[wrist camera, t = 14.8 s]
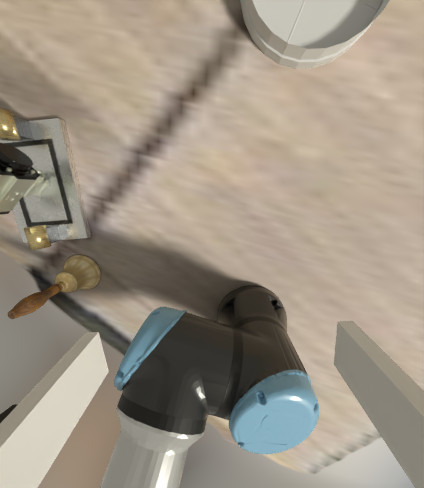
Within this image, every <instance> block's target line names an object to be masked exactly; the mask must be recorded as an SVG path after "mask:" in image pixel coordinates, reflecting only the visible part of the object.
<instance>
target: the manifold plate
mask: <svg viewBox="0 0 424 488" xmlns="http://www.w3.org/2000/svg"><path fill="white" fill-rule="evenodd" d="M0 143H5V144H8V145H11V146H13V147H15V148H17V149H19V150H20V151H22V152H23V153H25V154H26V155H27V156H28V157H29V158H30V159H31V160H32V162H33V166H32V167H33V168H34V169H37V170H39V171H41V172H42V173H43V174H44V175H45V178H44V180H48V181H49V185H48V186H47V187H46V189H45V190H44V191H43V192H42V193H41V195H40V196H35V195H30V196H29V197H22V198H21V199H20V200H19V202H18V203H17V204H16V205H15V207H14V208H13V209H12V211H13V214H14V217H15V220H16V223H17V226H18V229H19V232H20V235H21V238H22V241H23V243H24V242H28V244H29V247H30V250H35V249H42V248H46V247H50V246H51V243H53V242H56V241H60V240H67V239H81V238H89V237H92V236H91V231H90V227H89V223H88V219H87V214H86V210H85V206H84V202H83V197H82V193H81V189H80V185H79V180H78V176H77V172H76V168H75V163H74V159H73V155H72V151H71V146H70V142H69V138H68V133H67V129H66V125H65V121H64V120H61V119H59V118H54V119H45V120H35V121H27V120H25V119H22V118H19V117H16V116H14V114H13V112H11V111H9V110H6V109H2V108H0Z"/></svg>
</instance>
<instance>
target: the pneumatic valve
mask: <svg viewBox="0 0 424 488" xmlns="http://www.w3.org/2000/svg"><path fill="white" fill-rule="evenodd" d="M32 166H33V162H32V160H31V159H30V158H29V157H28V156H27V155H26V154H25V153H23V152H22V151H20V150H19V149H17V148H15V147H13V146H11V145H8V144H5V143H0V214H8V213H9V212H10V211H11V210H12V209H13V208H14V207H15V205H16V204H17V203H18V202H19V200H20V199H21V198H22V197H29V196H30V195H35V196H40V195H41V193H42V192H43V191H44V190H45V189H46V187H47V186H48V185H49V181H48V180H44V178H45V175H44V174H43V173H42V172H41V171H39V170H37V169H34V168H33V167H32Z"/></svg>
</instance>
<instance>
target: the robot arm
mask: <svg viewBox="0 0 424 488" xmlns="http://www.w3.org/2000/svg"><path fill="white" fill-rule="evenodd" d="M334 365H335V367H336V368H337V370H338V371H339V373H340V374H341V376H342V377H343V379H344V380H345V382H346V383H347V385H348V386H349V388H350V389H351V391H352V392H353V394H354V395H355V397H356V398H357V400H358V401H359V403H360V405H361V406H362V408H363V409H364V411H365V412H366V414H367V415H368V417H369V418H370V420H371V421H372V423H373V424H374V426H375V427H376V429H377V430H378V432H379V433H380V435H381V436H382V438H383V439H384V441H385V442H386V444H387V446H388V447H389V449H390V450H391V452H392V453H393V455H394V456H395V458H396V459H397V461H398V462H399V464H400V465H401V467H402V468H403V470H404V471H405V473H406V474H407V476H408V477H409V479H410V480H411V482H412V483H413V485H414V487H415V488H424V391H423V390H422V389H421V388H420V387H419V386H418V385H417V384H416V383H415V382H414V381H413V380H412V379H411V378H410V377H409V376H408V375H407V374H406V373H405V372H404V371H403V370H402V369H401V368H400V367H399V366H398V365H397V364H396V363H395V362H394V361H393V360H392V359H391V358H390V357H389V356H388V355H387V354H386V353H385V352H384V351H383V350H382V349H381V348H380V347H379V346H378V345H377V344H376V343H375V342H374V341H373V340H371V339H370V338H369V337H368V336H367V335H366V334H365V333H364V332H363V331H362V330H361V329H360V328H359V327H358V326H357V325H356V324H355V323H354V322H353V321H343V322H338V325H337V336H336V346H335V357H334ZM108 372H109V371H108V367H107V363H106V359H105V355H104V351H103V348H102V344H101V340H100V336H99V332H91V333H85V334H84V335H83V336H82V337H81V338H80V339H79V340H78V341H77V342H76V343H75V345H74V346H73V347H72V348H71V349H70V350H69V351H68V352H67V353H66V354H65V355H64V356H63V357H62V358H61V360H59V362H58V363H57V364H56V365H55V366H54V367H53V368H52V369H51V370H50V371H49V372H48V373H47V374H46V375H45V376H44V377H43V379H42V380H41V381H40V382H39V383H38V384H37V385H36V386H35V387H34V388H33V389H32V390H31V391H30V393H28V395H27V396H26V397H25V398H24V399H23V400H22V401H21V402H20V403H19V404H18V405H12V406H11V407H10V408H8V409H7V410H6V411H4V412H3V413H2V414H0V488H38V486H39V485H40V483H41V481H42V480H43V478H44V476H45V475H46V473H47V472H48V470H49V468H50V466H51V465H52V463H53V462H54V460H55V458H56V457H57V455H58V453H59V452H60V450H61V449H62V447H63V445H64V444H65V442H66V440H67V439H68V437H69V435H70V434H71V432H72V431H73V429H74V427H75V426H76V424H77V422H78V420H79V419H80V417H81V416H82V414H83V413H84V411H85V409H86V408H87V406H88V404H89V403H90V401H91V399H92V397H93V396H94V395H95V393H96V391H97V390H98V388H99V386H100V384H101V383H102V381H103V380H104V378H105V376H106V375H107V373H108ZM114 386H115V387H117V389H118V390H120V391H121V390H123V393H122V395H121V398H120V401H119V403H118V405H117V408H116V409H117V413H118V416H119V419H120V422H121V427H122V428H121V432H120V435H119V437H118V440H117V443H116V445H115V448H114V451H113V454H112V456H111V459H110V462H109V465H108V467H107V470H106V472H105V475H104V478H103V480H102V483H101V486H100V488H179V485H180V480H181V476H182V472H183V468H184V463H185V459H186V454H187V450H188V448H189V446H190V445H192V444H193V443H194V442H195V441H197V440H198V439H199V438H200V437H202V436H203V433H204V430H205V425H206V420H207V416H208V415H213V416H217V417H220V418H223V419H227V420H229V429H230V431H231V434H232V437H233V439H234V440H235V442H237V443H238V445H239V446H240V447H241V448H243V449H244V450H246V451H249V452H252V453H256V454H273V453H279V452H282V451H286V450H288V449H290V448H292V447H294V446H296V445H298V444H299V443H301V442H302V441H304V440H305V439H306V438H307V437H308V436H309V435H310V433H311V432H312V431H313V429H314V428H315V426H316V424H317V421H318V417H319V405H318V401H317V398H316V395H315V393H314V390H313V388H312V385H311V380H310V378H309V376H308V374H307V372H306V370H305V368H304V366H303V364H302V362H301V360H300V358H299V356H298V354H297V352H296V350H295V348H294V346H293V344H292V342H291V340H290V338H289V336H288V334H287V316H286V312H285V309H284V307H283V305H282V303H281V301H280V300H279V298H278V297H277V296H276V295H275V294H274V293H273V292H271V291H269V290H268V289H265V288H262V287H258V286H245V287H241V288H238V289H236V290H234V291H232V292H230V293H229V294H228V295H227V296H226V297H225V298H224V299H223V300H222V302H221V304H220V306H219V309H218V322H215V321H212V320H209V319H206V318H202V317H199V316H196V315H193V314H190V313H187V311H185V310H183V311H181V310H177V309H173V308H169V307H159V308H157V309H155V310H154V311H153V312H152V313H151V314H150V315H149V316H148V318H147V319H146V320H145V322H144V323H143V325H142V326H141V328H140V329H139V331H138V332H137V334H136V336H135V337H134V339H133V341H132V343H131V344H130V346H129V348H128V350H127V352H126V354H125V356H124V358H123V360H122V362H121V364H120V367H119V370H118V372H117V374H116V376H115V379H114Z"/></svg>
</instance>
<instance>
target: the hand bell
mask: <svg viewBox="0 0 424 488" xmlns="http://www.w3.org/2000/svg"><path fill="white" fill-rule="evenodd" d="M100 278H101V272H100V269H99V267H98V265H97V264H96V263H95V262H94V261H93V260H92V259H91V258H89V257H87V256H83V255H75V256H72V257H70V258H69V259H67V261H66V262H65V264H64V267H63V271H62V272H60V273H59V274H58V275H57V276H56V278H55V284H54V285H53V286H51V287H50V288H48V289H46V290H45V291H42V292H38V293H34V294H32V295H30V296H28V297H26V298H24V299H22V300H21V301H20V302H19V303H18V304H17V305H16V306H15V307H14V308H13V309H12V310H11V311H9V312H8V316H9V317H10V318H11V319H15V318H17V317H19V316H23V315H26V314H29V313H32V312H34V311H35V310H36V309H38V308H40V307H41V306H42V305H43V304H44V303H45V302H46V301H47V300H48V299H49V298H50V297H51V296H53V295H55V294H57V293H58V292H60V291H63V292H67V293H69V292H73V291H75V290H77V289H91V288H93V287H95V286H96V285H97V284H98V283H99V281H100Z"/></svg>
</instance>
